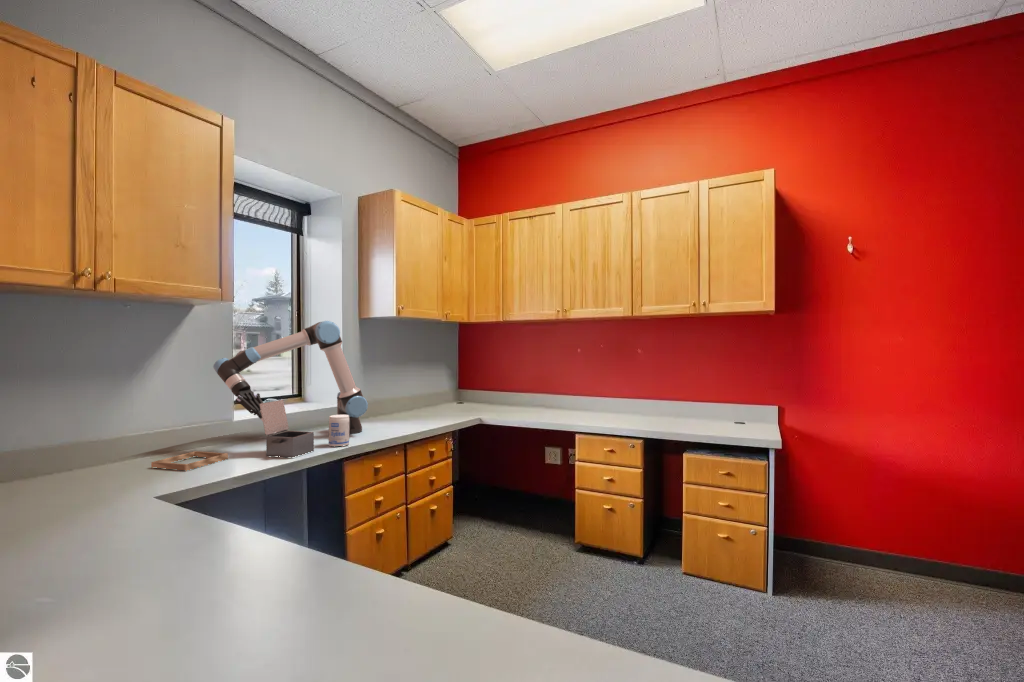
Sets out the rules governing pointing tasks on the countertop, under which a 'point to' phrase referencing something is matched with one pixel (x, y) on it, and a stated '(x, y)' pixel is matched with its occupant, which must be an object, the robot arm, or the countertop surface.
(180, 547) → the countertop surface
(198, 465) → the corral
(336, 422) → the supplement tub
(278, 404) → the lid
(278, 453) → the dark grey storage box
